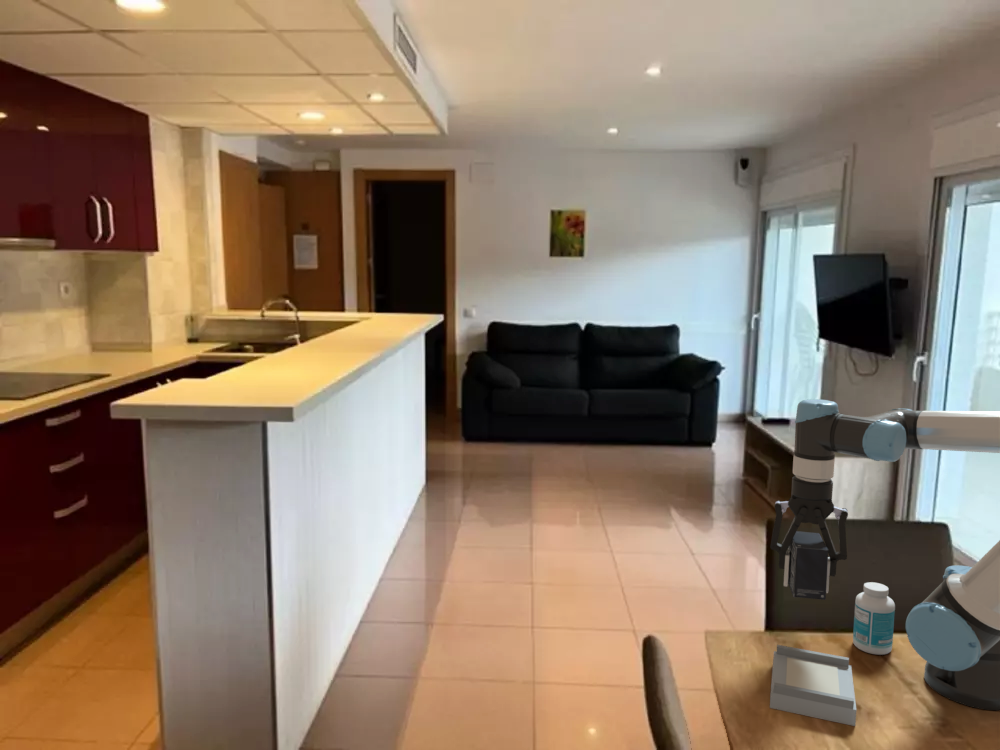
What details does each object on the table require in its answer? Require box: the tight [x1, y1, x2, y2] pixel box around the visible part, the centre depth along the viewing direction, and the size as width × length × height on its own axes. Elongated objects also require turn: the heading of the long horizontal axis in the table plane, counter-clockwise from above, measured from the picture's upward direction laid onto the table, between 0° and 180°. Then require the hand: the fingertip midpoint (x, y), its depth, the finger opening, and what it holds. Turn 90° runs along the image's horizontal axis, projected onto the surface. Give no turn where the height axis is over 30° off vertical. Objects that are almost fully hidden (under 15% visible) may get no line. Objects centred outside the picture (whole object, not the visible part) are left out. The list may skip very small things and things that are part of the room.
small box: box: [787, 530, 829, 601], centre depth 149 cm, size 11×6×10 cm, turn 166°
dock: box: [769, 644, 857, 727], centre depth 137 cm, size 14×16×4 cm
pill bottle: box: [852, 581, 896, 656], centre depth 154 cm, size 8×7×14 cm
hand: (805, 586), depth 149 cm, fingers closed on small box, 7 cm apart
